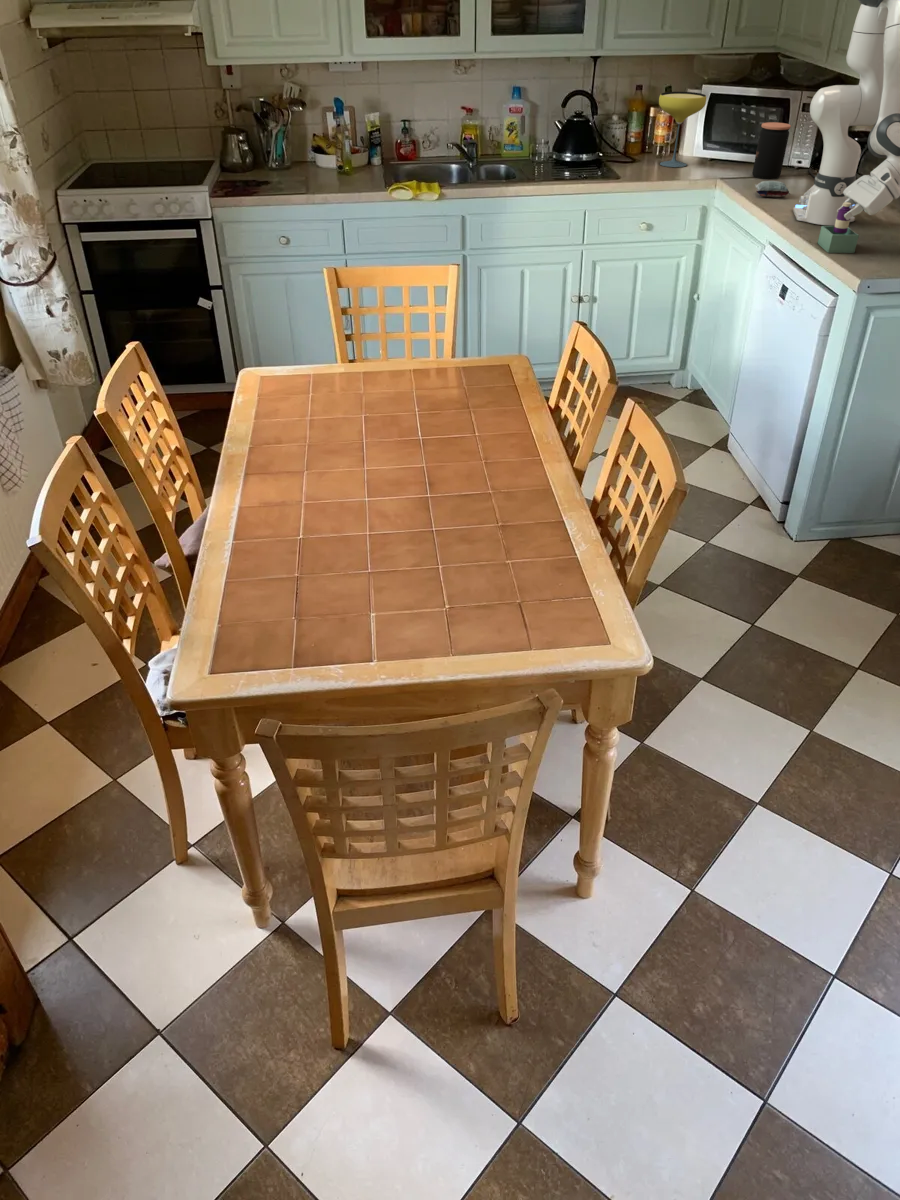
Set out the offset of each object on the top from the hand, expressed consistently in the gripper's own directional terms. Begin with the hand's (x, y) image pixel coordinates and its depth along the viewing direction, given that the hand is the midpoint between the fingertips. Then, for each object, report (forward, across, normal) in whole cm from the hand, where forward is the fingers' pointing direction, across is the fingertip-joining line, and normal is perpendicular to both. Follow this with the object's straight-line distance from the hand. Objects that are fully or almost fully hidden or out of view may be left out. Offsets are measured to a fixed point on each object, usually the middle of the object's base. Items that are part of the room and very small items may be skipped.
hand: (841, 215), depth 262 cm
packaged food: (+7, -66, +6) cm, 66 cm away
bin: (+6, 0, +7) cm, 9 cm away
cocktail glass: (+25, -118, -13) cm, 121 cm away
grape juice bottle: (+3, 0, +4) cm, 4 cm away
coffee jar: (+2, -97, +10) cm, 97 cm away
